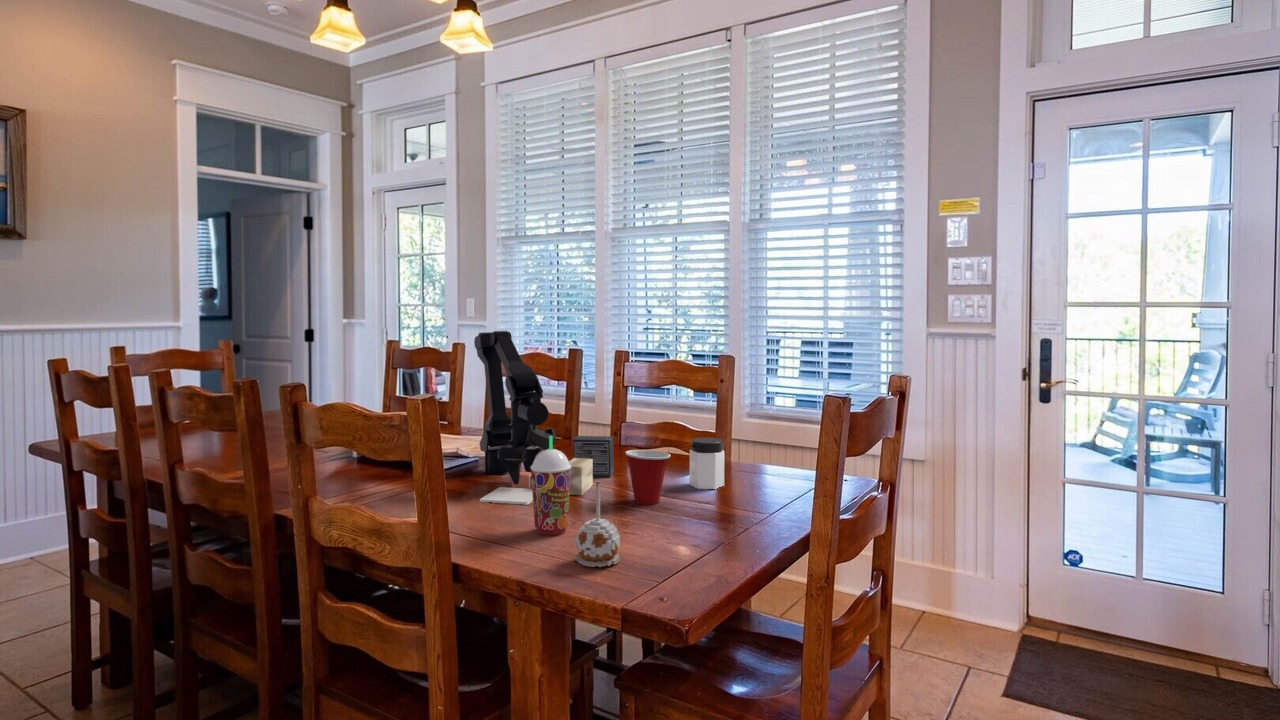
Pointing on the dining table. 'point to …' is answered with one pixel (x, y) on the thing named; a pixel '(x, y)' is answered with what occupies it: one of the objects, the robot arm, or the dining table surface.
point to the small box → (596, 453)
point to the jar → (706, 463)
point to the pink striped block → (524, 481)
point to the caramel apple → (597, 540)
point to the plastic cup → (647, 474)
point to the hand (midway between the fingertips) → (522, 479)
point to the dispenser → (581, 475)
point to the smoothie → (551, 491)
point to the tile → (509, 496)
